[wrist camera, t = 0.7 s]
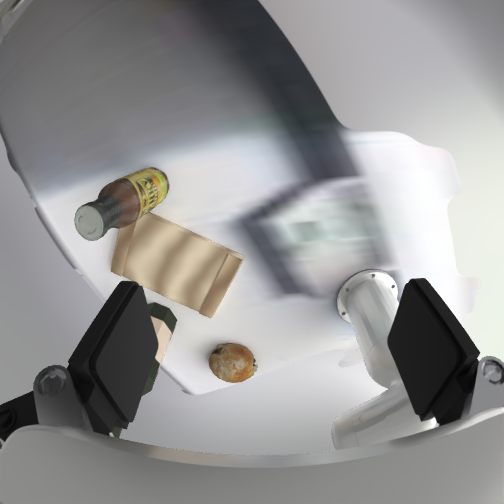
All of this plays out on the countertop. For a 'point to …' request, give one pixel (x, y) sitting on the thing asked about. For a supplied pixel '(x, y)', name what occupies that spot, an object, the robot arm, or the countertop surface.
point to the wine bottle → (164, 330)
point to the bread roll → (232, 363)
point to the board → (175, 263)
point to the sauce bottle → (122, 203)
